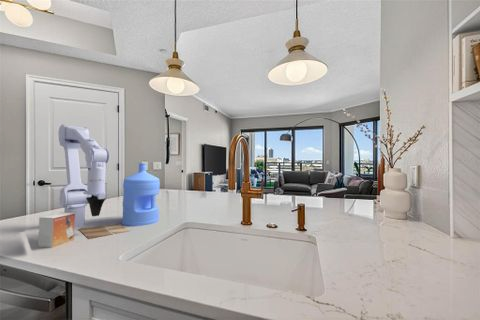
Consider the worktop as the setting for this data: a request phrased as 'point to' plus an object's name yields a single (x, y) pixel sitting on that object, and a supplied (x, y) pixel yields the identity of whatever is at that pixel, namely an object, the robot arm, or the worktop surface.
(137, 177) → the water jug
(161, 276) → the worktop surface
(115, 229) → the oak floor strip
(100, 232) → the walnut plank
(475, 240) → the worktop surface
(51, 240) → the small box
